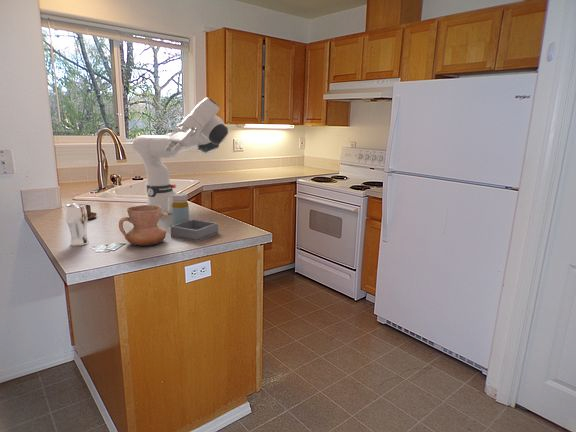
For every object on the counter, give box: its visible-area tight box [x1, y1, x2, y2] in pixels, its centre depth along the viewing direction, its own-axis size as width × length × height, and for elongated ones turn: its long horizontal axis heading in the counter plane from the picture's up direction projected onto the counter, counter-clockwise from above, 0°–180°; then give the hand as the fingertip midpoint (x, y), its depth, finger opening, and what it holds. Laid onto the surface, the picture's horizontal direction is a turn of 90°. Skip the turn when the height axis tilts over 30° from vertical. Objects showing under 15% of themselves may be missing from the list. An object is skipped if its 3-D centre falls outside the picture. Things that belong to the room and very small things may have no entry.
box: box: [170, 218, 219, 243], centre depth 160 cm, size 14×14×4 cm
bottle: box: [171, 192, 190, 226], centre depth 170 cm, size 7×7×15 cm
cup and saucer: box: [85, 204, 97, 221], centre depth 184 cm, size 12×12×6 cm
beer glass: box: [65, 203, 90, 247], centre depth 146 cm, size 7×7×15 cm
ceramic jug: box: [118, 204, 169, 247], centre depth 148 cm, size 18×14×14 cm
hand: (169, 151), depth 165 cm, fingers open, 8 cm apart
